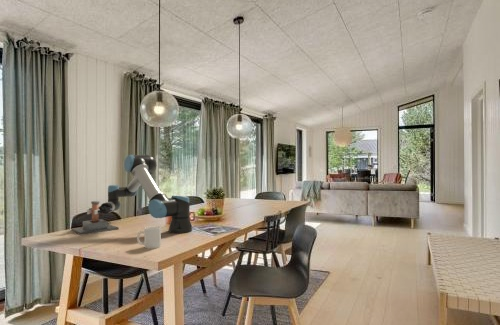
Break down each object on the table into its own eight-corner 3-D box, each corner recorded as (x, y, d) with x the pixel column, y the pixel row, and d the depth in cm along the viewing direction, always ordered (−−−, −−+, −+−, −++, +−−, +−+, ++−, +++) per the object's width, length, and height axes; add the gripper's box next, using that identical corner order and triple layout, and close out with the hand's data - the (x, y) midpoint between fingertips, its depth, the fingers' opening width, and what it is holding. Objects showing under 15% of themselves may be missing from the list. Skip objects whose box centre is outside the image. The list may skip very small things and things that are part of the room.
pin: (97, 222, 220) (97, 200, 220) (100, 223, 217) (100, 201, 217) (90, 223, 217) (90, 201, 217) (92, 224, 213) (92, 202, 213)
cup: (161, 248, 169) (161, 228, 169) (137, 250, 165) (137, 230, 165) (159, 244, 177) (159, 225, 177) (136, 246, 172) (136, 227, 172)
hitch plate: (108, 225, 231) (108, 217, 231) (118, 229, 219) (118, 220, 219) (71, 230, 215) (71, 221, 215) (80, 234, 202) (80, 225, 202)
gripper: (119, 212, 235) (104, 218, 211) (95, 212, 235) (78, 218, 211) (119, 202, 235) (104, 206, 211) (95, 202, 235) (78, 206, 211)
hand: (91, 212), depth 211 cm, fingers closed on pin, 4 cm apart
